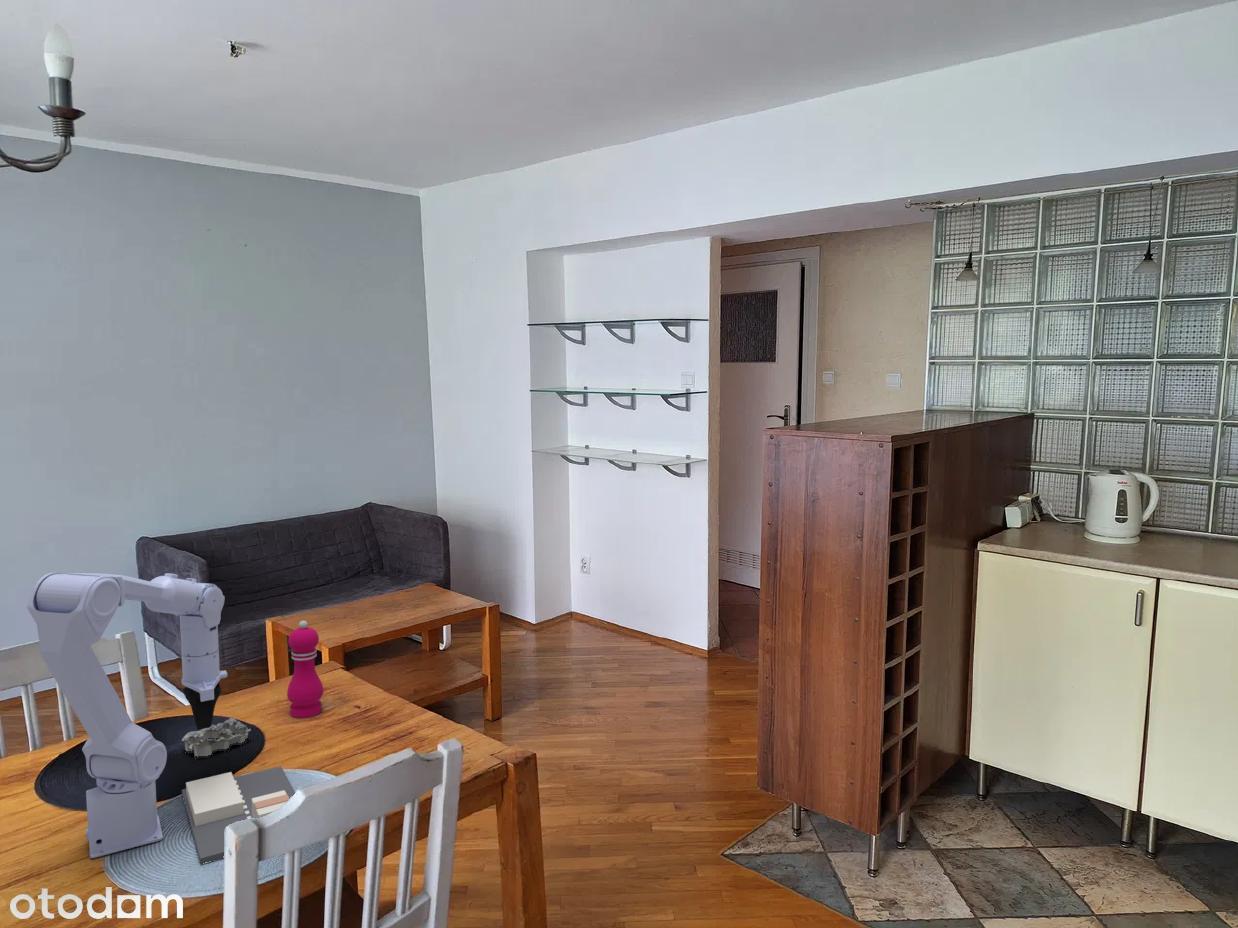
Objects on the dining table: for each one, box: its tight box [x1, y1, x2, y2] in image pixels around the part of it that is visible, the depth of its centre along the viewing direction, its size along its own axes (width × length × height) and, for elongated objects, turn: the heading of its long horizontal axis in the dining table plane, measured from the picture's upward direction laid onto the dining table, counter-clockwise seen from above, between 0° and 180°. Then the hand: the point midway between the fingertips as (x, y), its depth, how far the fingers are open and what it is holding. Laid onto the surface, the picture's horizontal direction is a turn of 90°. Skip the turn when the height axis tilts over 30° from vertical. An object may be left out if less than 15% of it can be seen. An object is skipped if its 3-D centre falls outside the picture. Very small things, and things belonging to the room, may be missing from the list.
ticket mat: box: [181, 765, 296, 865], centre depth 136 cm, size 16×24×3 cm, turn 33°
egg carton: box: [181, 717, 252, 757], centre depth 160 cm, size 11×8×4 cm
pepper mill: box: [286, 620, 324, 719], centre depth 175 cm, size 7×7×20 cm
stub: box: [252, 790, 289, 818], centre depth 132 cm, size 5×6×3 cm
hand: (203, 727), depth 144 cm, fingers closed
